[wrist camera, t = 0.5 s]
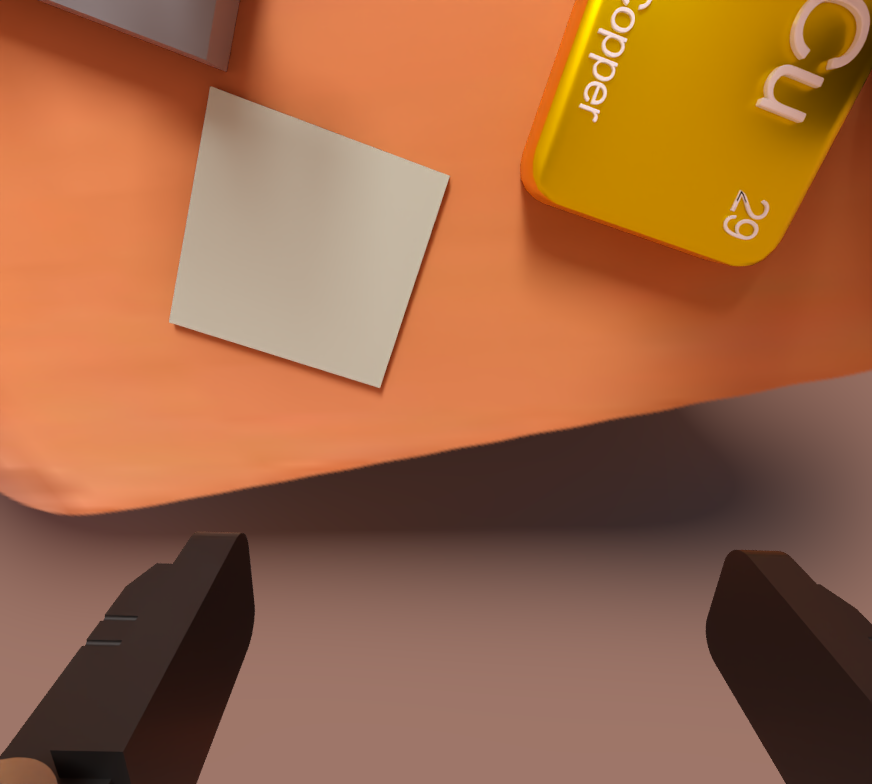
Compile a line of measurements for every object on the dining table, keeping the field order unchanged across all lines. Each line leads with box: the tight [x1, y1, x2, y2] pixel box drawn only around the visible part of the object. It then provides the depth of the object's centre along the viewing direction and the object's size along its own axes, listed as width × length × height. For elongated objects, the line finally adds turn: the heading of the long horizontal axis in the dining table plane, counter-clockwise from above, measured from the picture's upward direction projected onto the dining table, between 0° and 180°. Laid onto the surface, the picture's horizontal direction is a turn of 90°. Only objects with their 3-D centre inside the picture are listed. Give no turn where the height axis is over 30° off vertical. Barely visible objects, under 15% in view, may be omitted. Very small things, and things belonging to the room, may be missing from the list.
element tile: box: [520, 0, 872, 267], centre depth 29 cm, size 15×15×5 cm
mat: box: [169, 86, 450, 388], centre depth 33 cm, size 14×14×1 cm
